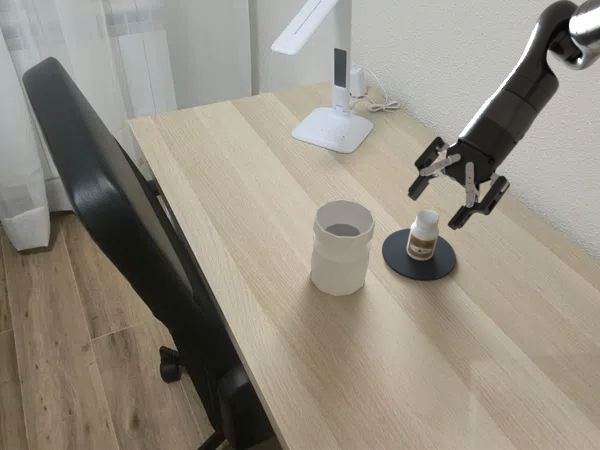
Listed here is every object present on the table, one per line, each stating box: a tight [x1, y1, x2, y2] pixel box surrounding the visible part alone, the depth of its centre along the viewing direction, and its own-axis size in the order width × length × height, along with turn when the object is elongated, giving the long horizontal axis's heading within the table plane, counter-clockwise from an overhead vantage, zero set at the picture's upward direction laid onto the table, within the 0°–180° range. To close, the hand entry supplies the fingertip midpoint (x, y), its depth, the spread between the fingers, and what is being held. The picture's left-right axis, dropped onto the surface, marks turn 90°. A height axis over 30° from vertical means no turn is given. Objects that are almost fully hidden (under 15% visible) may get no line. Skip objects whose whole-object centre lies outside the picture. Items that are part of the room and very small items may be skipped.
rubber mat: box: [381, 228, 457, 282], centre depth 91 cm, size 12×12×1 cm
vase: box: [310, 198, 376, 297], centre depth 82 cm, size 9×9×12 cm
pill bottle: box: [407, 209, 440, 261], centre depth 88 cm, size 4×4×8 cm
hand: (430, 212), depth 85 cm, fingers open, 8 cm apart
